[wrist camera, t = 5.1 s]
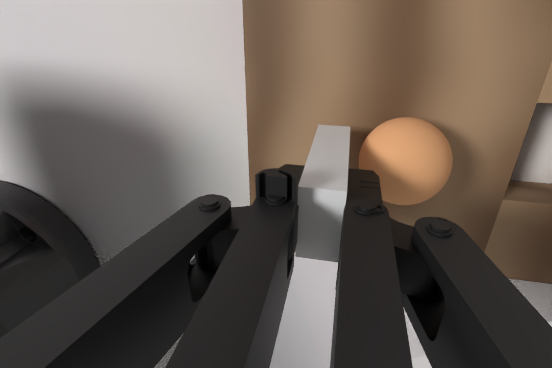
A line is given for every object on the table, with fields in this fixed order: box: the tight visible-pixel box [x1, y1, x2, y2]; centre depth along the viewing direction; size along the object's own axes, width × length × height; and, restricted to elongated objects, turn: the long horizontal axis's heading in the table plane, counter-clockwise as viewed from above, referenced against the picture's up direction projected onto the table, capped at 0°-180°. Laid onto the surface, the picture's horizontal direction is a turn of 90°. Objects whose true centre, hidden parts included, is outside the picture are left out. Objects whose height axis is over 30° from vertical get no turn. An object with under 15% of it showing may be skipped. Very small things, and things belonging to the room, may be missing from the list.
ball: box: [359, 117, 453, 205], centre depth 16 cm, size 4×4×4 cm
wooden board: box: [243, 0, 552, 284], centre depth 17 cm, size 22×15×5 cm
